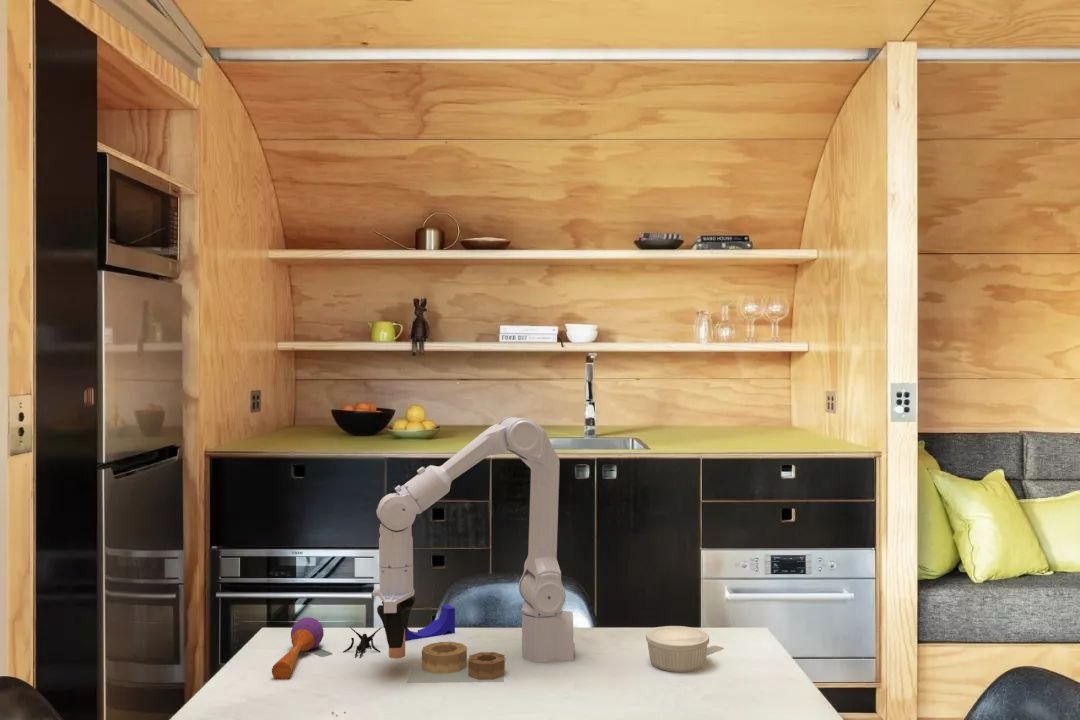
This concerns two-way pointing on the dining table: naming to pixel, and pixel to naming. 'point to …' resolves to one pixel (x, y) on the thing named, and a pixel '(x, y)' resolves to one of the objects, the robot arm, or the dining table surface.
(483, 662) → the walnut bead
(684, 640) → the ramekin
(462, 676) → the board
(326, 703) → the dining table surface
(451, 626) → the blue curved cradle
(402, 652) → the orange rounded peg
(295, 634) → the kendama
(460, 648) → the oak bead
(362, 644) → the creature
